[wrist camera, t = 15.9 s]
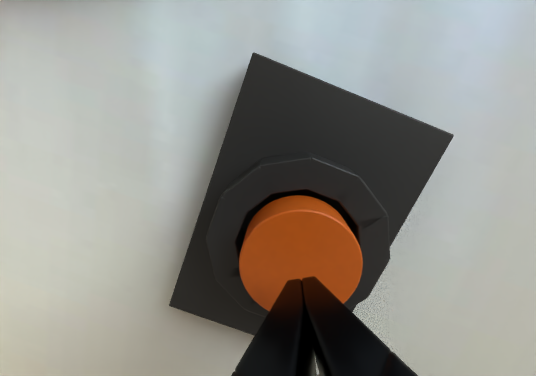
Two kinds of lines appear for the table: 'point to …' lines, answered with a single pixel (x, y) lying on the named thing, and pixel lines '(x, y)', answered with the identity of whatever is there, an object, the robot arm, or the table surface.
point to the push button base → (303, 181)
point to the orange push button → (298, 249)
